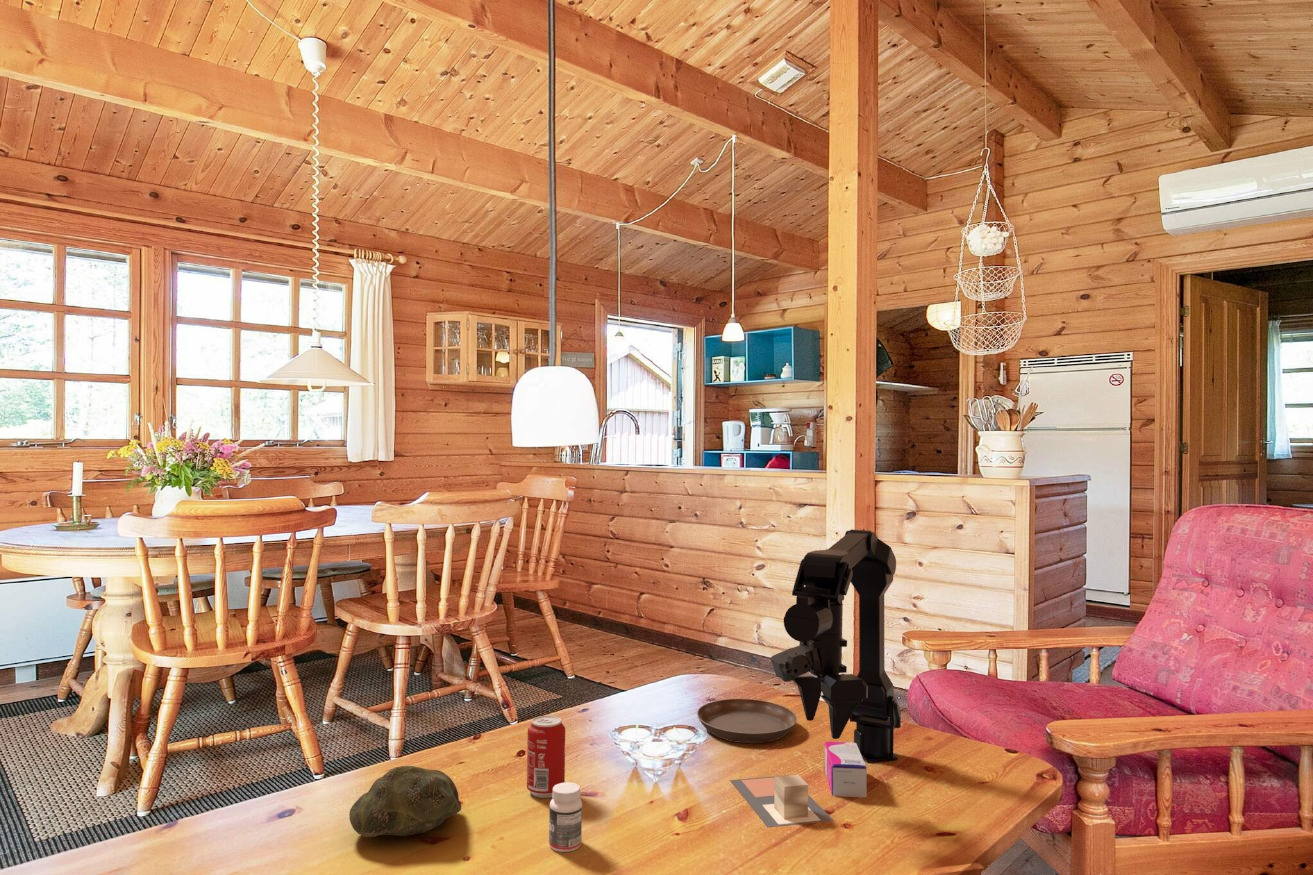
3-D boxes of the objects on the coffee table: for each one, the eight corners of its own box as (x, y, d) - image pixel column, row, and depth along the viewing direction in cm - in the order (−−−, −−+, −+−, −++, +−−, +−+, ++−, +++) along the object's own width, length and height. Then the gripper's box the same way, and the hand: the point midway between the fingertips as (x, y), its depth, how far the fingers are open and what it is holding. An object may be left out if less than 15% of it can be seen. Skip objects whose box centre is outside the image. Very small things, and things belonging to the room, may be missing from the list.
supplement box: (867, 802, 135) (856, 773, 147) (867, 766, 135) (857, 740, 146) (831, 800, 136) (824, 771, 147) (831, 765, 136) (824, 739, 147)
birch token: (797, 805, 132) (797, 774, 132) (807, 816, 128) (808, 784, 128) (774, 807, 131) (774, 776, 131) (783, 819, 127) (784, 786, 127)
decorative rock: (375, 816, 130) (374, 752, 132) (472, 812, 130) (471, 747, 131) (335, 853, 116) (334, 779, 117) (445, 848, 115) (443, 774, 116)
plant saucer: (804, 749, 159) (804, 732, 159) (698, 747, 159) (698, 730, 159) (788, 714, 180) (788, 699, 180) (695, 712, 180) (695, 697, 180)
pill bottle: (549, 837, 121) (550, 780, 121) (581, 836, 121) (582, 780, 121) (548, 853, 116) (549, 794, 116) (581, 852, 117) (582, 793, 117)
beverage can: (571, 788, 138) (572, 717, 139) (551, 802, 133) (552, 728, 133) (539, 781, 141) (541, 712, 141) (519, 795, 135) (520, 722, 136)
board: (788, 778, 144) (788, 774, 144) (834, 824, 126) (834, 820, 126) (729, 783, 141) (729, 779, 141) (767, 831, 124) (767, 827, 124)
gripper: (756, 621, 139) (754, 714, 138) (802, 645, 121) (800, 752, 120) (816, 620, 141) (814, 710, 141) (870, 643, 123) (868, 747, 123)
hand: (822, 729), depth 131 cm, fingers open, 9 cm apart
